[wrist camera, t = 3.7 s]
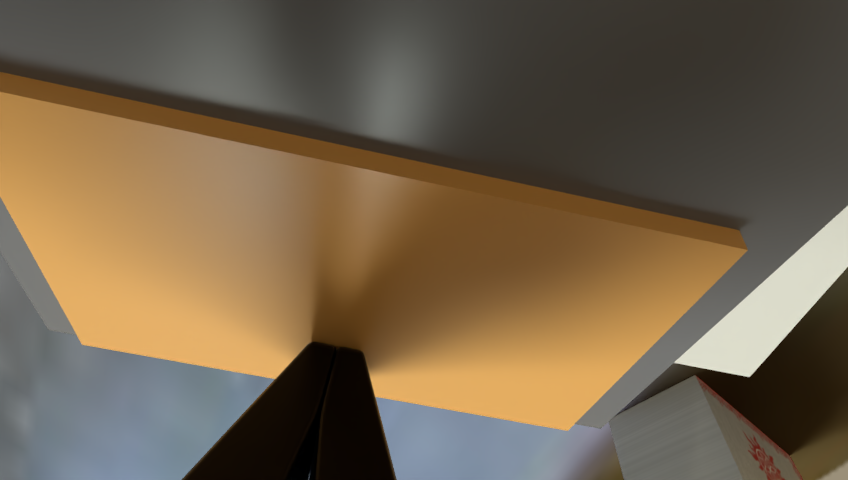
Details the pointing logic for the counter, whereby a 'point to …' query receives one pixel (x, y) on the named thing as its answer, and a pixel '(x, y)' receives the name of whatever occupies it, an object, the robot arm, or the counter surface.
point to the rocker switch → (418, 182)
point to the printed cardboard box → (695, 439)
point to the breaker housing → (774, 305)
